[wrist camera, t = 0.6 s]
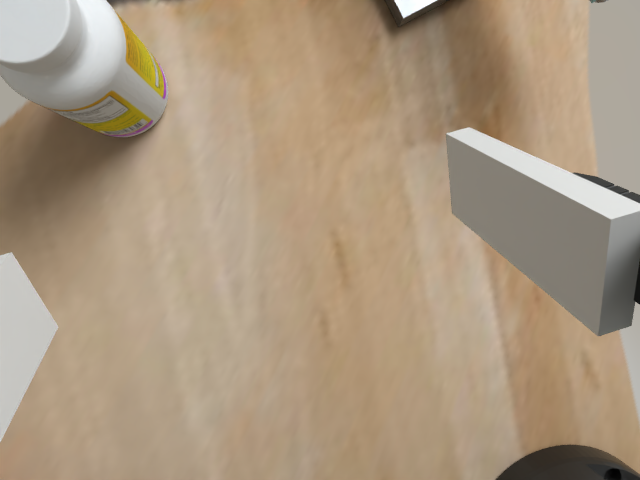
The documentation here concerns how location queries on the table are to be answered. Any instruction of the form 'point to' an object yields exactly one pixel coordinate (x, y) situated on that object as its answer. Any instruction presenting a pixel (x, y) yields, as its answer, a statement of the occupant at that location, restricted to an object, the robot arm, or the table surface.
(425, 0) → the post base
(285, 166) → the table surface
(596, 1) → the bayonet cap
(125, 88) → the supplement bottle
